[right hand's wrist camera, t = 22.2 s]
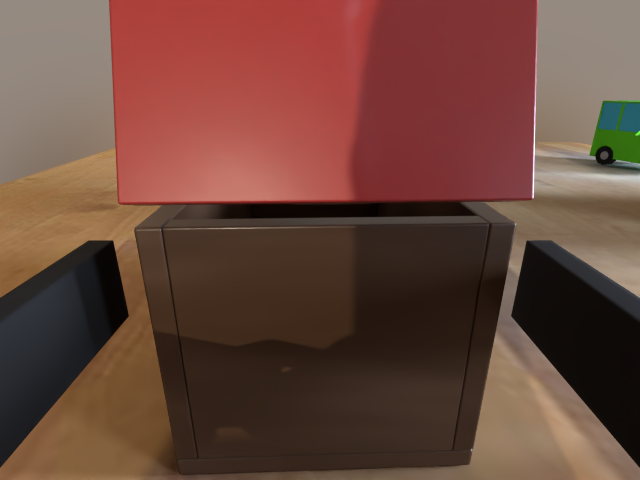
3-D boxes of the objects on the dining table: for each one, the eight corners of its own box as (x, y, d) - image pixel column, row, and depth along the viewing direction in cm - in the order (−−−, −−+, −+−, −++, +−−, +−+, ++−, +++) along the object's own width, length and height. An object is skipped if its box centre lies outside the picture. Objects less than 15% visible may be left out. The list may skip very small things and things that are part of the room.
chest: (247, 266, 28) (237, 143, 25) (381, 264, 28) (389, 143, 25) (178, 475, 13) (132, 227, 10) (470, 465, 13) (517, 223, 10)
